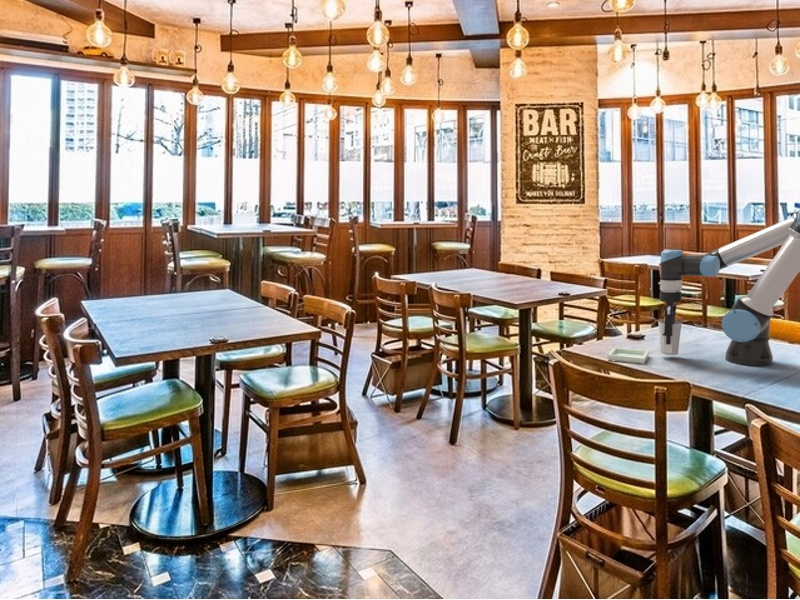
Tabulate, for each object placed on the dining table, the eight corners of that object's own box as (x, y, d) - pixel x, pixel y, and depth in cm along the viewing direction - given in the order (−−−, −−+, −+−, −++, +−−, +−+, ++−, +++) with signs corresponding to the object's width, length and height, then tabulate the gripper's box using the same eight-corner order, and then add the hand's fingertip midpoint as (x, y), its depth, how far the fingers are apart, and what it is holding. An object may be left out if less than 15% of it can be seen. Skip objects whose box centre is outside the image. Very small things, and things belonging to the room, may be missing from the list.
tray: (648, 356, 224) (648, 350, 224) (644, 364, 213) (644, 358, 213) (613, 352, 230) (613, 347, 230) (607, 360, 219) (607, 354, 219)
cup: (683, 355, 216) (684, 324, 214) (660, 355, 217) (661, 324, 216) (677, 350, 224) (678, 320, 222) (655, 350, 225) (656, 320, 224)
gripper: (662, 287, 228) (661, 344, 231) (656, 294, 210) (655, 355, 214) (683, 287, 224) (682, 345, 227) (679, 294, 207) (677, 356, 210)
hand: (669, 350), depth 220 cm, fingers closed on cup, 7 cm apart
